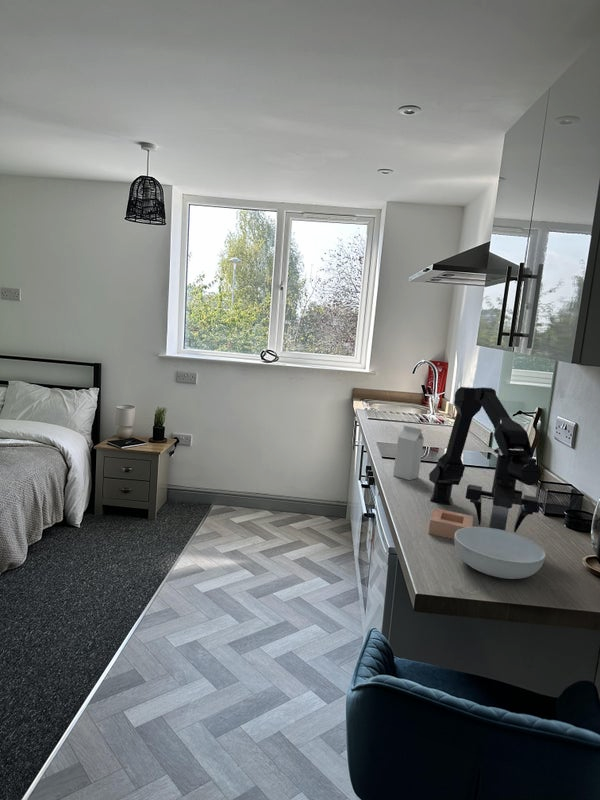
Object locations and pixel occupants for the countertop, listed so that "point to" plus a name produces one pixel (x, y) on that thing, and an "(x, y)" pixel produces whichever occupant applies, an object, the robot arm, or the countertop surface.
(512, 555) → the serving bowl
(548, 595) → the countertop surface
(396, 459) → the milk carton
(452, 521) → the orange square socket block
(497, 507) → the tall grey square pillar
